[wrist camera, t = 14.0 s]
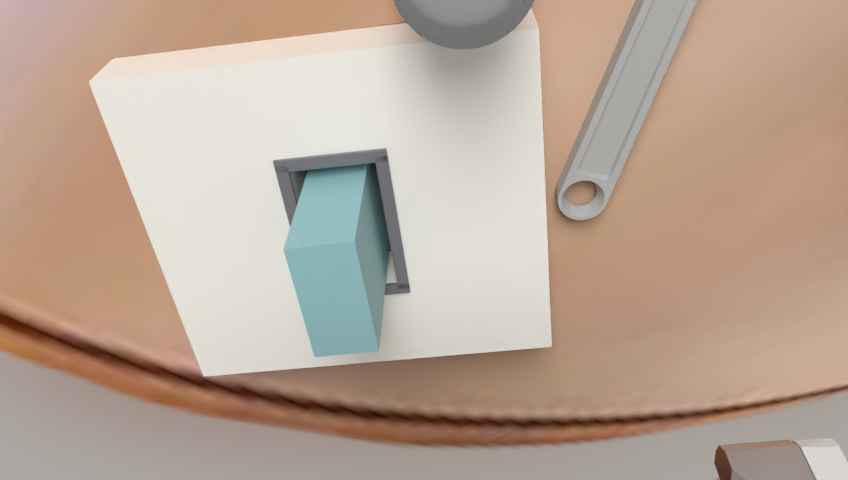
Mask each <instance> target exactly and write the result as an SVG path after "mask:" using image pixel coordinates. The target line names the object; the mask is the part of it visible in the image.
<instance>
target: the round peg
mask: <svg viewBox="0 0 848 480" xmlns="http://www.w3.org/2000/svg"><path fill="white" fill-rule="evenodd" d="M394 2H395V5H396V7H397V9H398V11H399V13H400V14H401V16H402V17H403V19H404V20H405V21H406V23H407V24H408V25H409V26H410V27H411V28H412V29H413V30H414V31H415V32H416V33H417V34H419V35H420V36H421V37H423V38H424V39H426V40H428V41H430V42H432V43H434V44H436V45H439V46H442V47H446V48H451V49H461V50H463V49H474V48H480V47H483V46H486V45H490V44H492V43H494V42H496V41H498V40H500V39H502V38H503V37H505V36H506V35H508V34H509V33H510V32H511V31H513V30H514V29H515V28H516V27H517V26H518V25H519V24H520V23H521V21H522V20H523V19H524V17H525V16H526V15H527V13H528V11H529V10H530V8H531V6H532V4H533V2H534V0H394Z"/></svg>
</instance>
